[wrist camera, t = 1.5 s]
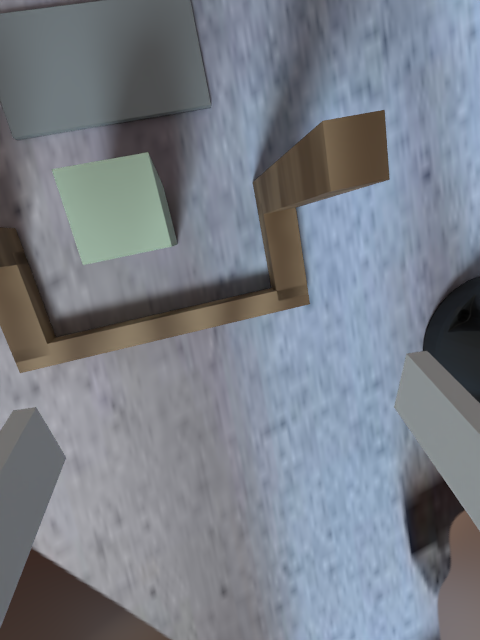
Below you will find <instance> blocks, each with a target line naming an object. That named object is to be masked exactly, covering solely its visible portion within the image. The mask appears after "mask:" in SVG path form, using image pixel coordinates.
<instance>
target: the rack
mask: <svg viewBox="0 0 480 640" xmlns="http://www.w3.org/2000/svg"><path fill="white" fill-rule="evenodd" d="M386 180H389V166H388V152H387V138H386V125H385V111H384V110H381V111H376V112H370V113H365V114H359V115H353V116H348V117H342V118H336V119H331V120H325V121H322V122H321V123H320V124H319V125H317V126H316V127H315V128H314V129H313V130H312V131H311V132H309V133H308V134H307V135H306V136H305V137H304V138H303V139H301V140H300V141H299V142H298V143H297V144H296V145H295V146H293V147H292V148H291V149H290V150H289V151H288V152H287V153H285V154H284V155H283V156H282V157H281V158H280V159H279V160H278V161H276V162H275V163H274V164H273V165H272V166H271V167H270V168H268V169H267V170H266V171H265V172H264V173H263V174H262V175H260V176H259V177H258V178H257V179H256V180H255V181H254V182H253V187H254V192H255V198H256V204H257V209H258V215H259V221H260V226H261V232H262V238H263V243H264V249H265V255H266V260H267V266H268V272H269V277H270V283H271V288H269V289H264V290H260V291H256V292H251V293H247V294H243V295H238V296H234V297H230V298H225V299H221V300H217V301H212V302H208V303H203V304H199V305H195V306H190V307H186V308H182V309H177V310H173V311H169V312H164V313H160V314H156V315H151V316H147V317H143V318H138V319H134V320H130V321H125V322H121V323H117V324H112V325H108V326H104V327H99V328H95V329H91V330H86V331H82V332H78V333H73V334H69V335H64V336H60V337H56V336H55V334H54V331H53V328H52V326H51V323H50V320H49V318H48V315H47V312H46V310H45V307H44V304H43V301H42V299H41V296H40V293H39V291H38V288H37V285H36V283H35V280H34V277H33V275H32V272H31V269H30V267H29V264H28V261H27V259H26V256H25V253H24V250H23V248H22V245H21V242H20V240H19V237H18V234H17V232H16V229H15V228H3V227H0V326H1V328H2V331H3V333H4V336H5V338H6V340H7V343H8V345H9V348H10V350H11V352H12V355H13V357H14V360H15V362H16V365H17V367H18V369H19V372H20V373H23V372H27V371H31V370H35V369H39V368H44V367H48V366H52V365H56V364H60V363H65V362H69V361H73V360H77V359H81V358H86V357H90V356H94V355H98V354H102V353H107V352H111V351H115V350H119V349H123V348H128V347H132V346H136V345H140V344H144V343H148V342H153V341H157V340H161V339H165V338H169V337H174V336H178V335H182V334H186V333H190V332H195V331H199V330H203V329H207V328H211V327H216V326H220V325H224V324H228V323H232V322H237V321H241V320H245V319H249V318H253V317H257V316H262V315H266V314H270V313H274V312H278V311H283V310H287V309H291V308H295V307H299V306H304V305H308V304H310V302H309V295H308V288H307V281H306V274H305V268H304V261H303V254H302V247H301V240H300V234H299V227H298V220H297V213H296V207H299V206H303V205H306V204H309V203H313V202H316V201H319V200H323V199H326V198H329V197H333V196H336V195H339V194H343V193H346V192H349V191H353V190H356V189H359V188H363V187H366V186H369V185H373V184H376V183H379V182H383V181H386Z"/></svg>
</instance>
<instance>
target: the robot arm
mask: <svg viewBox="0 0 480 640" xmlns="http://www.w3.org/2000/svg"><path fill="white" fill-rule="evenodd" d="M394 408H395V409H396V411H397V412H398V413H399V415H400V416H401V418H402V419H403V421H404V422H405V424H406V425H407V426H408V428H409V429H410V431H411V432H412V434H413V435H414V437H415V438H416V439H417V441H418V442H419V444H420V445H421V447H422V448H423V450H424V451H425V452H426V454H427V455H428V457H429V458H430V460H431V461H432V463H433V464H434V465H435V467H436V468H437V470H438V471H439V473H440V474H441V476H442V477H443V478H444V480H445V481H446V483H447V484H448V486H449V487H450V489H451V490H452V491H453V493H454V494H455V496H456V497H457V499H458V500H459V502H460V503H461V504H462V506H463V507H464V509H465V510H466V512H467V513H468V515H469V516H470V517H471V519H472V520H473V522H474V523H475V525H476V526H477V528H478V529H479V530H480V277H477V278H474V279H472V280H470V281H468V282H466V283H464V284H463V285H461V286H459V287H458V288H457V289H455V290H454V291H453V292H452V293H451V294H450V295H449V296H448V297H447V298H446V299H445V300H444V301H443V302H442V303H441V305H440V306H439V307H438V309H437V310H436V312H435V314H434V315H433V317H432V319H431V321H430V323H429V326H428V329H427V332H426V335H425V340H424V349H423V351H422V352H415V353H408V354H406V358H405V363H404V367H403V371H402V376H401V380H400V384H399V389H398V393H397V397H396V401H395V406H394ZM65 459H66V457H65V455H64V453H63V451H62V450H61V448H60V446H59V445H58V443H57V441H56V440H55V438H54V436H53V435H52V433H51V431H50V430H49V428H48V426H47V425H46V423H45V421H44V419H43V418H42V416H41V414H40V413H39V411H38V409H37V408H36V407H35V408H28V409H21V410H14V411H13V412H12V413H11V415H10V417H9V418H8V420H7V421H6V423H5V424H4V426H3V428H2V429H1V431H0V627H1V625H2V622H3V620H4V616H5V614H6V612H7V609H8V607H9V604H10V601H11V599H12V596H13V593H14V591H15V588H16V586H17V583H18V580H19V578H20V575H21V573H22V570H23V568H24V565H25V562H26V560H27V557H28V555H29V552H30V550H31V547H32V544H33V542H34V539H35V537H36V534H37V531H38V529H39V526H40V524H41V521H42V519H43V516H44V513H45V511H46V508H47V506H48V503H49V500H50V498H51V495H52V493H53V490H54V487H55V485H56V482H57V480H58V477H59V474H60V472H61V469H62V467H63V464H64V462H65Z"/></svg>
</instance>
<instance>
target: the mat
mask: <svg viewBox="0 0 480 640" xmlns="http://www.w3.org/2000/svg"><path fill="white" fill-rule="evenodd" d="M0 102H1V105H2V107H3V110H4V113H5V116H6V119H7V122H8V125H9V127H10V130H11V133H12V136H13V138H14V139H16V140H21V139H27V138H33V137H39V136H45V135H50V134H56V133H62V132H68V131H74V130H80V129H86V128H92V127H98V126H104V125H110V124H116V123H122V122H128V121H134V120H140V119H146V118H152V117H158V116H164V115H170V114H176V113H182V112H188V111H194V110H200V109H206V108H211V102H210V97H209V92H208V87H207V82H206V77H205V72H204V67H203V62H202V57H201V52H200V47H199V42H198V37H197V31H196V26H195V21H194V16H193V11H192V6H191V1H190V0H103V1H95V2H87V3H80V4H72V5H64V6H56V7H48V8H41V9H33V10H25V11H17V12H9V13H2V14H0Z"/></svg>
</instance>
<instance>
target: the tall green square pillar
mask: <svg viewBox="0 0 480 640" xmlns="http://www.w3.org/2000/svg"><path fill="white" fill-rule="evenodd" d="M52 172H53V175H54V178H55V181H56V184H57V187H58V190H59V193H60V196H61V199H62V202H63V205H64V208H65V212H66V215H67V218H68V221H69V224H70V227H71V230H72V233H73V236H74V239H75V242H76V245H77V248H78V251H79V254H80V257H81V260H82V263H83V265H86V264H91V263H95V262H100V261H105V260H110V259H115V258H119V257H124V256H129V255H134V254H138V253H143V252H148V251H153V250H157V249H162V248H167V247H172V246H174V245H176V244H177V240H176V236H175V232H174V228H173V224H172V220H171V216H170V212H169V207H168V203H167V199H166V195H165V191H164V187H163V185H162V183H161V180H160V178H159V176H158V174H157V171H156V169H155V167H154V165H153V162H152V160H151V158H150V155H149V153H148V152H147V153H141V154H135V155H130V156H124V157H119V158H113V159H107V160H102V161H96V162H91V163H85V164H79V165H74V166H68V167H63V168H57V169H52Z"/></svg>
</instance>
